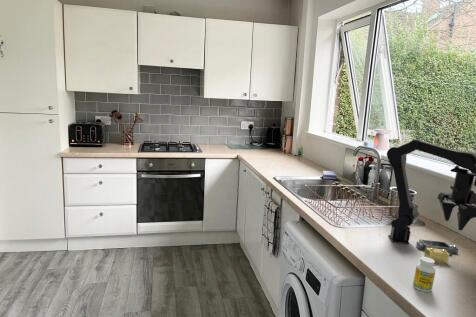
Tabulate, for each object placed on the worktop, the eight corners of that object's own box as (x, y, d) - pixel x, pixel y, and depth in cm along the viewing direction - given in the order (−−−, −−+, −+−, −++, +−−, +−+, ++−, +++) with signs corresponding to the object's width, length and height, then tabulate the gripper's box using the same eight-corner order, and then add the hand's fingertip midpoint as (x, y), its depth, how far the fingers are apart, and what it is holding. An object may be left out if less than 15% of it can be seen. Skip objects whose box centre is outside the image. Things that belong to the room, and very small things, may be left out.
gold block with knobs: (428, 261, 133) (430, 250, 132) (423, 257, 136) (426, 246, 135) (447, 264, 132) (450, 252, 131) (442, 259, 136) (445, 248, 135)
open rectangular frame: (420, 251, 141) (422, 245, 140) (414, 244, 147) (415, 238, 147) (459, 255, 140) (460, 249, 140) (451, 248, 146) (452, 242, 146)
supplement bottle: (428, 284, 116) (433, 257, 114) (434, 293, 110) (440, 265, 109) (410, 281, 116) (415, 254, 114) (415, 290, 111) (421, 262, 109)
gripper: (501, 195, 124) (490, 237, 127) (469, 181, 142) (460, 218, 145) (469, 192, 124) (459, 234, 127) (441, 178, 142) (432, 215, 145)
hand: (453, 225), depth 136 cm, fingers open, 9 cm apart
